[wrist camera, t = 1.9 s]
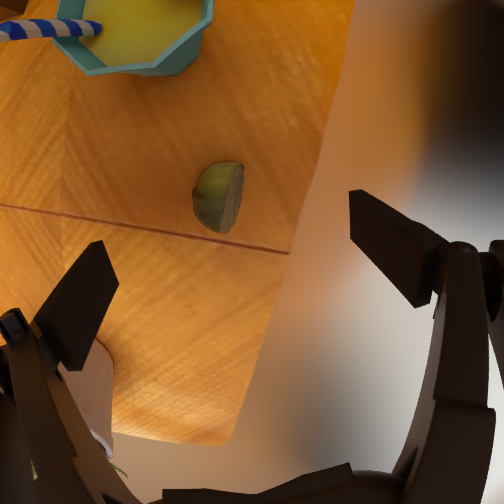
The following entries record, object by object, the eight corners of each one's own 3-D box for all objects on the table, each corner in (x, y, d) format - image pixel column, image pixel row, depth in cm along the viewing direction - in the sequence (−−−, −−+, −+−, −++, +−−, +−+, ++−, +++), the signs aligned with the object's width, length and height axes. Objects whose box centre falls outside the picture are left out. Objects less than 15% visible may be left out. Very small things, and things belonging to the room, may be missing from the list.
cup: (91, 133, 19) (-50, 181, 6) (63, 55, 15) (-73, 31, 2) (261, 62, 18) (343, -15, 5) (228, -18, 15) (251, -146, 2)
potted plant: (105, 402, 33) (84, 532, 15) (23, 343, 27) (-34, 472, 9) (159, 366, 30) (145, 539, 12) (59, 290, 25) (-29, 463, 7)
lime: (235, 149, 21) (240, 159, 17) (261, 204, 23) (272, 227, 19) (182, 176, 22) (173, 192, 17) (210, 228, 24) (210, 256, 19)
